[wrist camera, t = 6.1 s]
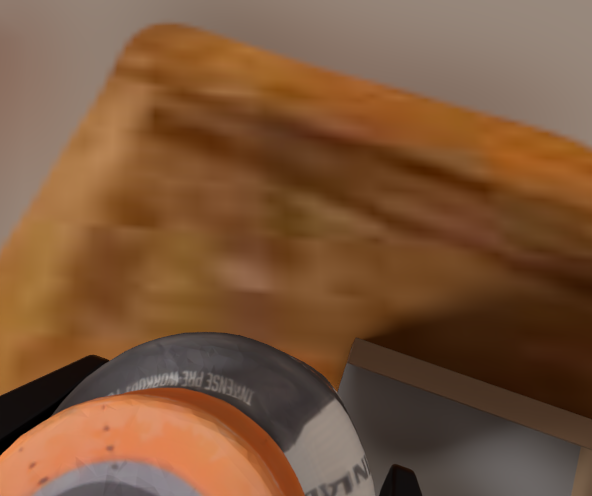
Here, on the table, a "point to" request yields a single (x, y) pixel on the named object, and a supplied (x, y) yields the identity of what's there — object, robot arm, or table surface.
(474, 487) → the box
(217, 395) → the pill bottle
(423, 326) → the table surface
